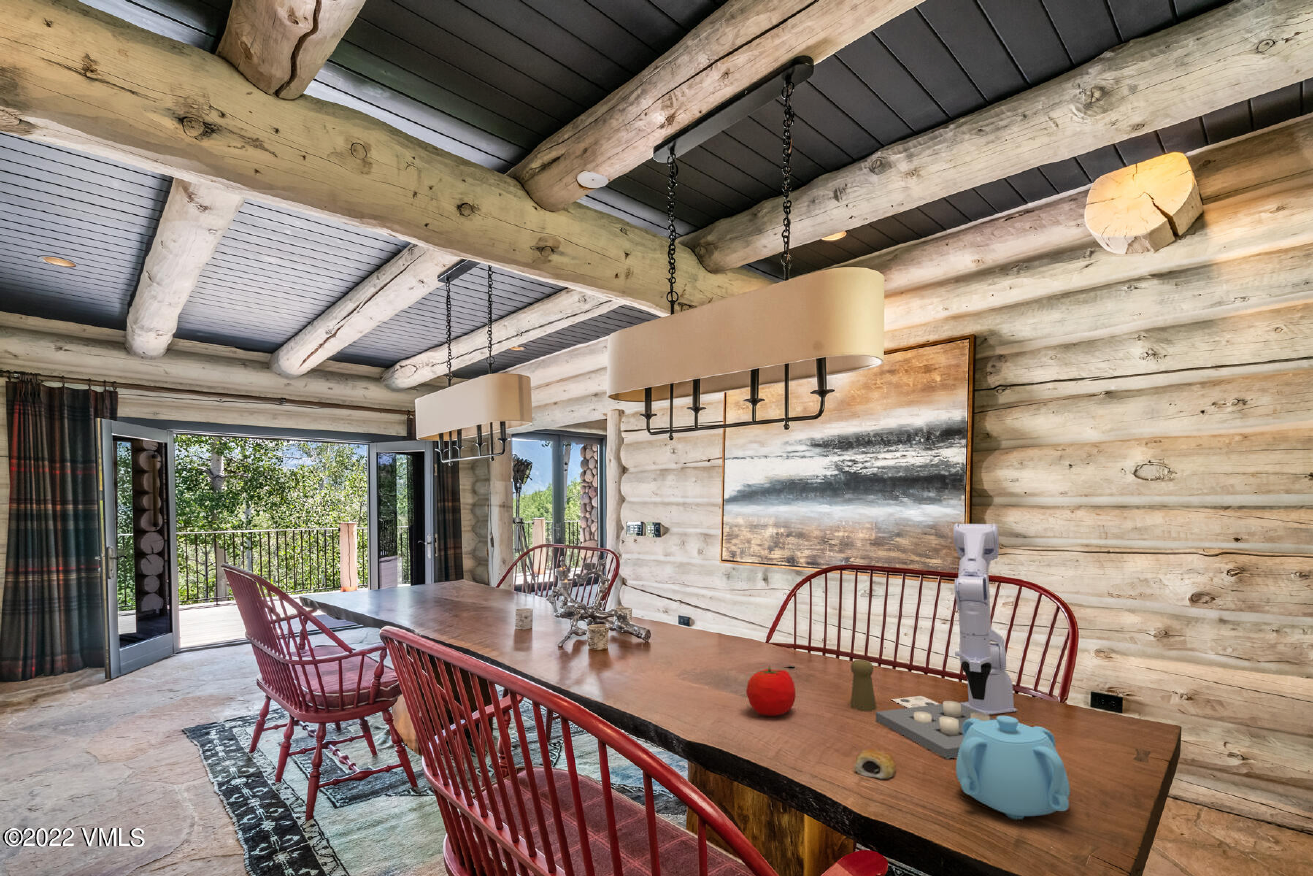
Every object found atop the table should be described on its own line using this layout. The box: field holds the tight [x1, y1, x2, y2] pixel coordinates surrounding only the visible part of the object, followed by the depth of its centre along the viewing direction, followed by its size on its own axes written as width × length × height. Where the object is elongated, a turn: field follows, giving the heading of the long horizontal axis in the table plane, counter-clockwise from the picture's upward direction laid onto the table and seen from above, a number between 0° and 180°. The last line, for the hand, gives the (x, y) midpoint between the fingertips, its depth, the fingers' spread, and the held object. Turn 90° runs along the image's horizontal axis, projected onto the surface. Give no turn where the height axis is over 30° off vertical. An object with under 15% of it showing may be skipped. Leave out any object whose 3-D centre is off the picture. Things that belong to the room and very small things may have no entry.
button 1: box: [942, 700, 962, 719], centre depth 137 cm, size 4×4×3 cm
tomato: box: [745, 665, 796, 717], centre depth 146 cm, size 11×13×10 cm
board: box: [875, 703, 997, 760], centre depth 132 cm, size 22×22×2 cm
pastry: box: [853, 747, 897, 780], centre depth 115 cm, size 9×7×4 cm
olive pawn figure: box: [850, 659, 877, 712], centre depth 149 cm, size 6×6×11 cm
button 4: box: [939, 716, 959, 737], centre depth 127 cm, size 4×4×3 cm
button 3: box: [914, 712, 932, 723], centre depth 135 cm, size 4×4×3 cm
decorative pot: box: [955, 715, 1071, 820], centre depth 102 cm, size 16×16×14 cm
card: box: [890, 695, 940, 708], centre depth 151 cm, size 9×8×1 cm
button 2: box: [970, 712, 991, 721], centre depth 130 cm, size 4×4×3 cm
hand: (978, 698), depth 130 cm, fingers closed
